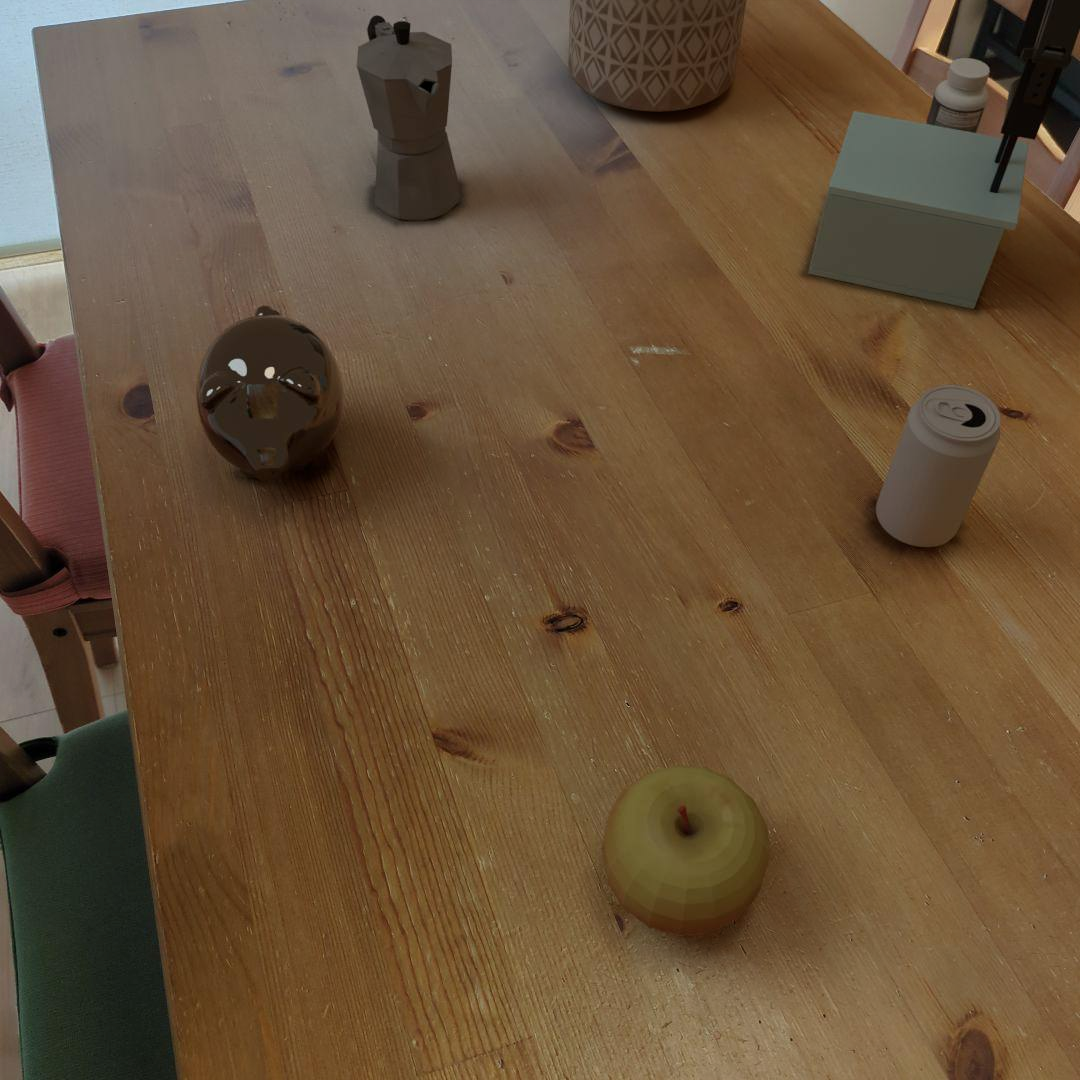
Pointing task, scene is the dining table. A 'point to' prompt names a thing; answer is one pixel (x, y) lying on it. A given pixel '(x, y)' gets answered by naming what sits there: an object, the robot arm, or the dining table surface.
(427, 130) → the coffeepot
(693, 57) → the planter
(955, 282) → the open box
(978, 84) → the pill bottle
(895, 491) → the beverage can
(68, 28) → the dining table surface
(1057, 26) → the robot arm
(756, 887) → the apple
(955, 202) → the lid
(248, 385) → the piggy bank
